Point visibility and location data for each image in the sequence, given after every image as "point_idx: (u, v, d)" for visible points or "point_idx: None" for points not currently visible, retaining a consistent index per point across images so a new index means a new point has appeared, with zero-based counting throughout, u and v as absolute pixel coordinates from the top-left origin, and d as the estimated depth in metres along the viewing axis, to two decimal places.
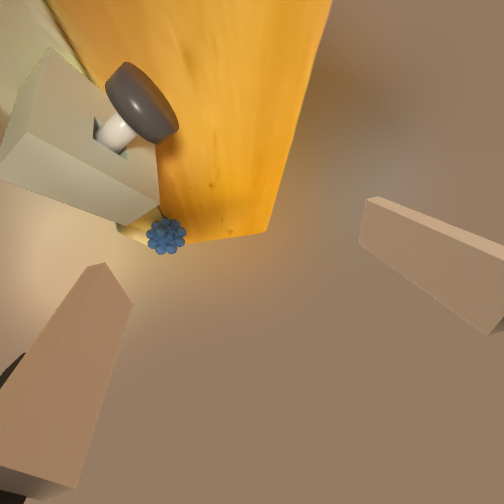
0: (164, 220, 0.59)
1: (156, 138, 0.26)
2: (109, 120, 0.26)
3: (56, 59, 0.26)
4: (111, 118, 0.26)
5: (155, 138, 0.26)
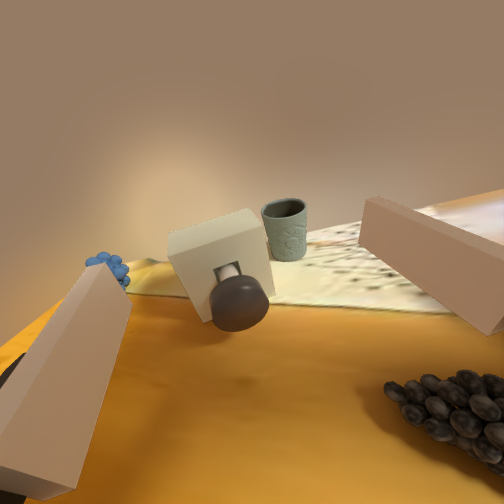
0: None
1: (219, 288, 0.28)
2: None
3: (271, 291, 0.41)
4: None
5: (220, 287, 0.28)
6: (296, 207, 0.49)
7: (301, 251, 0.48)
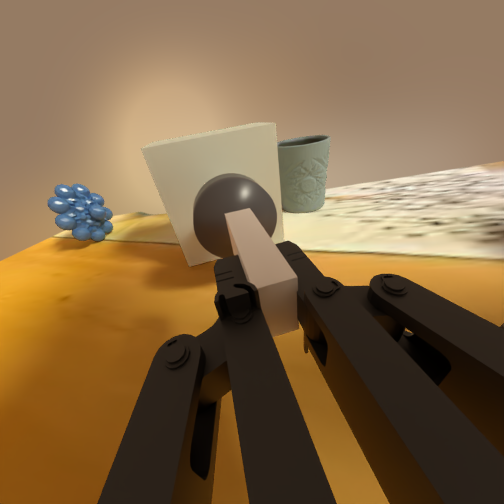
0: (101, 233, 0.42)
1: (207, 184, 0.19)
2: None
3: (278, 235, 0.32)
4: None
5: (209, 183, 0.19)
6: None
7: (318, 200, 0.39)
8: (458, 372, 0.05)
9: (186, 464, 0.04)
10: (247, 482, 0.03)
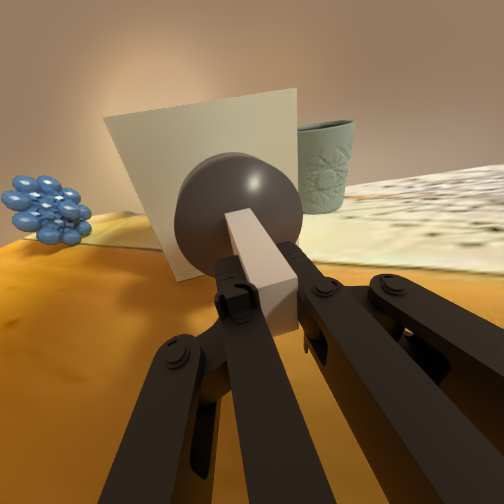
0: (74, 235, 0.35)
1: (197, 167, 0.12)
2: None
3: None
4: None
5: (200, 166, 0.12)
6: None
7: (337, 199, 0.32)
8: (458, 372, 0.05)
9: (186, 464, 0.04)
10: (247, 482, 0.03)
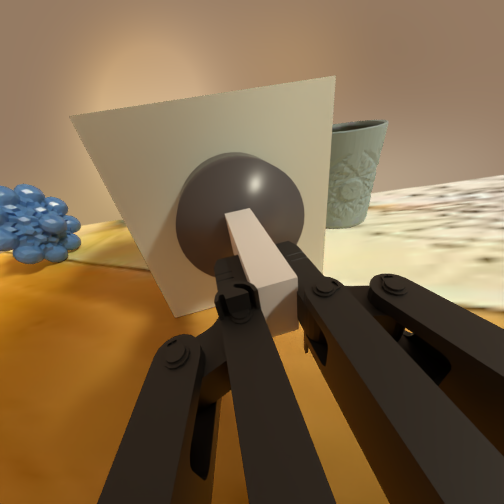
0: (60, 251, 0.31)
1: (199, 167, 0.12)
2: None
3: None
4: None
5: (201, 166, 0.12)
6: None
7: (362, 211, 0.28)
8: (458, 372, 0.05)
9: (186, 464, 0.04)
10: (247, 482, 0.03)
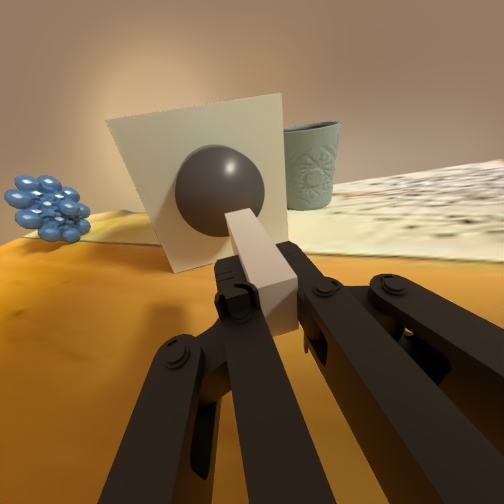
0: (74, 233, 0.36)
1: (190, 154, 0.18)
2: None
3: (282, 235, 0.27)
4: None
5: (192, 153, 0.18)
6: None
7: (325, 195, 0.34)
8: (458, 372, 0.05)
9: (186, 464, 0.04)
10: (247, 482, 0.03)
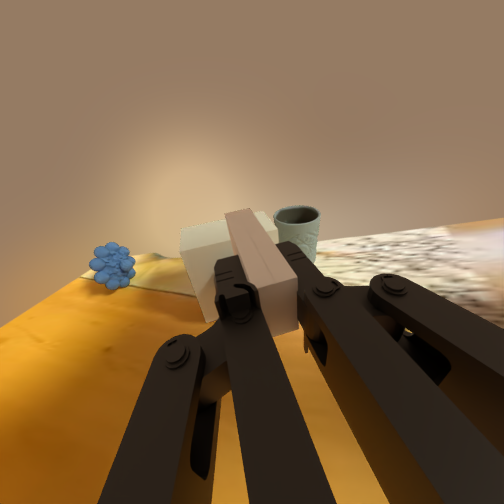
0: (127, 281, 0.49)
1: None
2: None
3: None
4: None
5: None
6: (309, 214, 0.48)
7: (310, 259, 0.48)
8: (458, 372, 0.05)
9: (186, 464, 0.04)
10: (247, 482, 0.03)
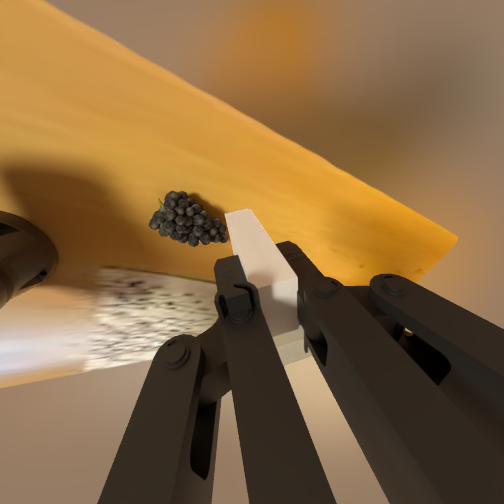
0: None
1: None
2: None
3: None
4: None
5: None
6: None
7: None
8: (458, 372, 0.05)
9: (186, 464, 0.04)
10: (247, 482, 0.03)
